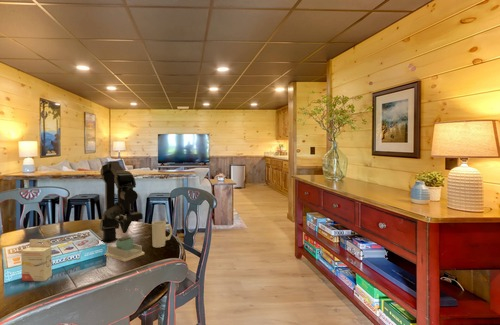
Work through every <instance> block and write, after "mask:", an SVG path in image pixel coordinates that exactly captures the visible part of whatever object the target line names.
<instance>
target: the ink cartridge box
mask: <svg viewBox="0 0 500 325" xmlns="http://www.w3.org/2000/svg"><path fill="white" fill-rule="evenodd" d="M40 242H41V243H40ZM51 246H52V245H51V239H46V238H45V239H43V238H41V239H40V238H35V239H34V238H33V239H32V238H30V239H29V246H28V247H27V248H24V249H22V250H21V253H20V254H21V256H20V257H21V282H45V281H46V280H48V279H50V278H51V277H52V275H53V269H52V266H53V265H52V247H51Z"/></svg>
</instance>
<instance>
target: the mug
mask: <svg viewBox="0 0 500 325" xmlns="http://www.w3.org/2000/svg"><path fill="white" fill-rule="evenodd" d="M167 229H169V235H167V236H166V230H167ZM172 235H173V227H172V226H171V223H168V224H167V223H166V221H164V220H156V221H152V222H151V237H152V238H151V239H152V240H151V241H152V244H151V245H152V247H153V248H157V249H158V248H162V247H165V246H166V241H169V240H171V237H172Z"/></svg>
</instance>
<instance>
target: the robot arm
mask: <svg viewBox="0 0 500 325" xmlns="http://www.w3.org/2000/svg"><path fill="white" fill-rule="evenodd" d="M99 173H100V176H101V179H102V180H103V182H104V188H105V190H104V192H105V193H104V194H105V195H104V198H105V199H104V200H105V204H104V207H105V210H104V212H103V214H102V216H101V220H100V223H99V230H100V231H102V237H103V238H102V239H103V240H104V241H105V242H104V241H103V242H104V243H110V242H114V241H116V240H118V239H119V237H117V231H116V230H117V229H119V228H121V231H122V233H123V234H126V233H127V231H128V230H129V227H130V225H131V223H132V222H135V221H140V220H143V218H144V217H143V215H144V214H143V213H142V212H139V211H134V210H133V209H132V204H133V203H135V202H136V201H137V199H138V198H139V196H138V193H137V191H135V190H134V188H136V185H137V183H136V180H135V177H134V175H133V174H132V172H131V171H128V170H125V169H124V168H123V167H122V166H121V164H120V161H118V160H110V161H108V162H107V163H106V164H104V165H102V166H101V168H100V171H99ZM115 186H116V188H115ZM115 189H117V192H115V191H116V190H115ZM116 193H117V196H115V194H116ZM115 197H117V201H116V200H115Z"/></svg>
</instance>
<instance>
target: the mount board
mask: <svg viewBox="0 0 500 325" xmlns="http://www.w3.org/2000/svg"><path fill="white" fill-rule="evenodd" d="M106 248H107V252H105V253H104V256H105V255H106V256H105V257H107V256H108V258H111V259H113V260H117V261H122V262H125V263H126V262H128V261H131V260H132V259H136V258H137V257H140V256H143V255H145V251H143V246H142V245H140V244H136V243H133V249H130V250H127V251H126V250H123V249H119V248H116V246H111V245H107V246H106Z"/></svg>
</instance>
